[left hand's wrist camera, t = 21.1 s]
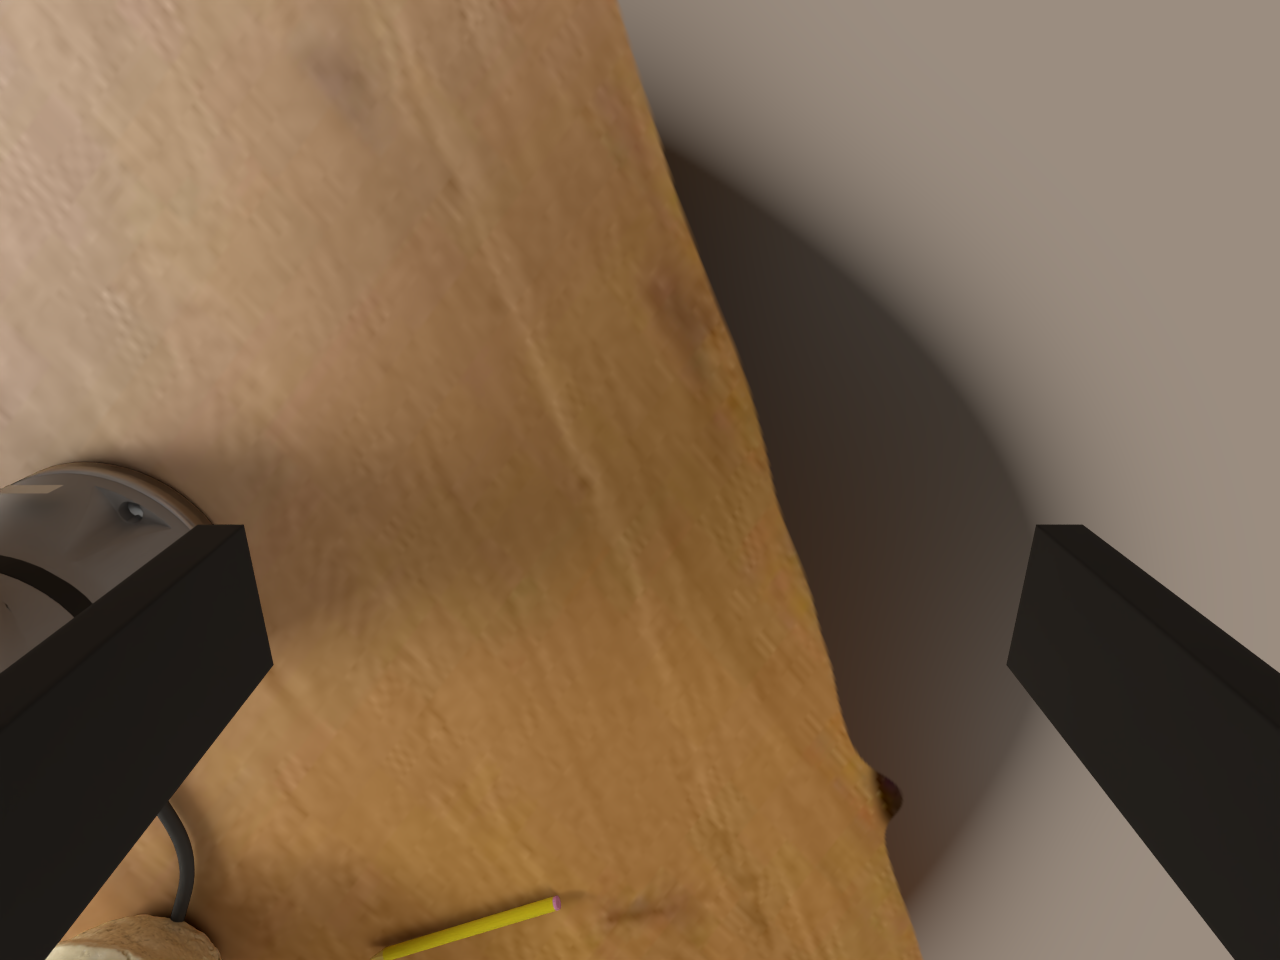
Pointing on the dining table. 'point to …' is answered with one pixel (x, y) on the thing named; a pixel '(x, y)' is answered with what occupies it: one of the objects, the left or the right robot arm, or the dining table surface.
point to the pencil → (469, 929)
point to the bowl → (138, 941)
